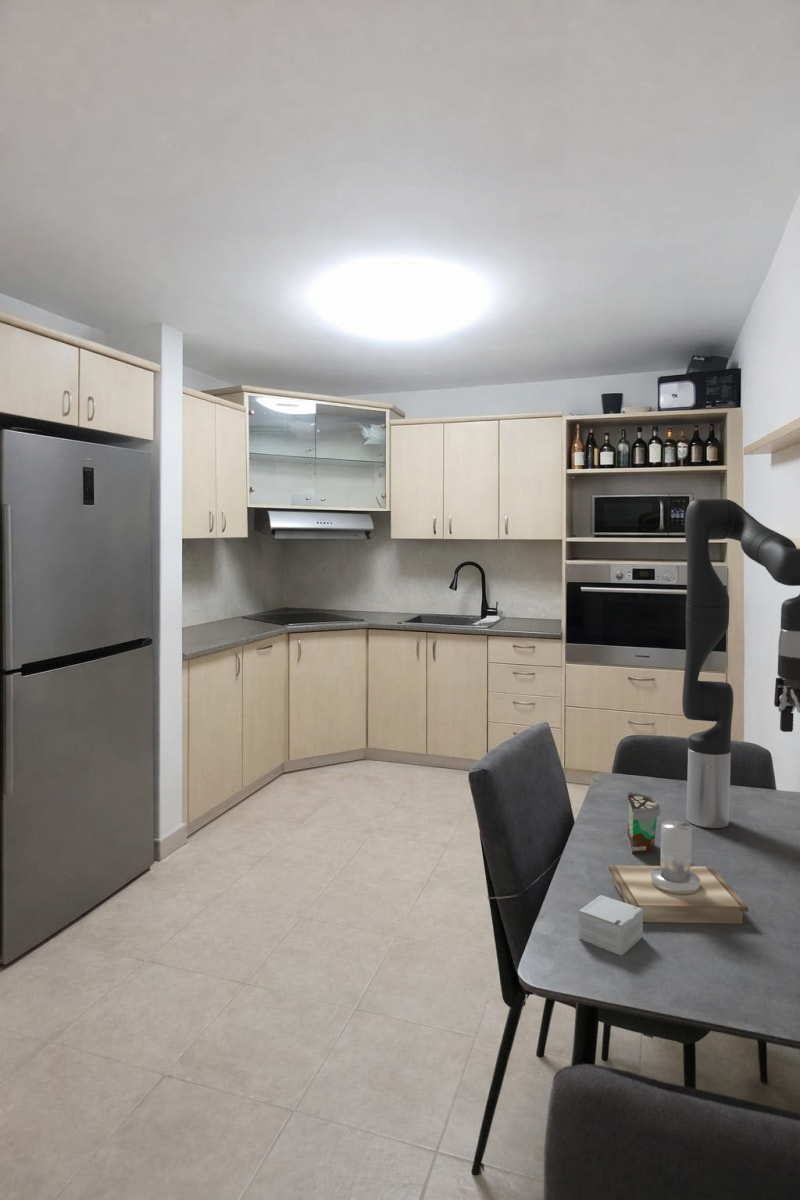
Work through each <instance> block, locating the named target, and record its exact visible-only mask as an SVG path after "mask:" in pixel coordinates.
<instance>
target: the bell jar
mask: <svg viewBox="0 0 800 1200" xmlns="http://www.w3.org/2000/svg"><path fill="white" fill-rule="evenodd" d="M692 831H693V826H692V825H691V824H690V823H688V822H684V821H681V820H680V821H679V820H671V819H670V820H664V821H662V822H661V825H660V865H659V866H660V868H656V869H654V870H652V872H651V884H652V885H653V886H654V887H655V888H656V889H658V890H660V891H663V892H665V893H669V894H673V895H693V894H696V893H698V892H699V890H700V878H699V877H698V876H697V875H696V874H694V873H692V872H691V866H692V844H693V843H692V842H693V841H692V840H693V839H692V838H693V837H692V835H693V832H692Z"/></svg>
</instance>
